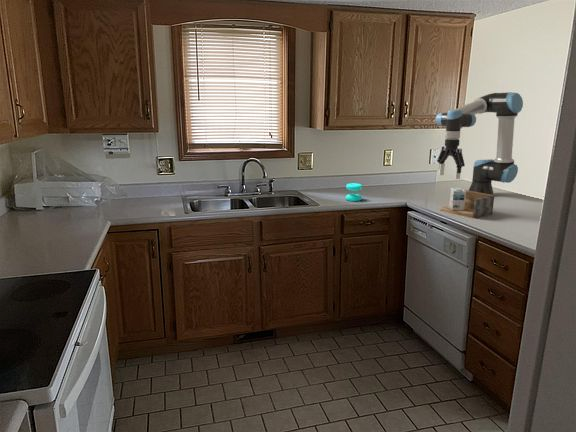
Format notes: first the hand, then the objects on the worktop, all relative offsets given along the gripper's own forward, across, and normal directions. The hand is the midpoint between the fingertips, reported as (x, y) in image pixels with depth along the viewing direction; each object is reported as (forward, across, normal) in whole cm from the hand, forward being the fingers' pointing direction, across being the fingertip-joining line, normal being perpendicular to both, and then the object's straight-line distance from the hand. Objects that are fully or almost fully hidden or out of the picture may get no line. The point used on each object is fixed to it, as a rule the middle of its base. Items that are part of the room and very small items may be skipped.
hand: (449, 177), depth 248 cm
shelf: (+18, +10, +5) cm, 22 cm away
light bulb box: (+17, +6, +2) cm, 18 cm away
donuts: (+18, -40, -39) cm, 59 cm away
